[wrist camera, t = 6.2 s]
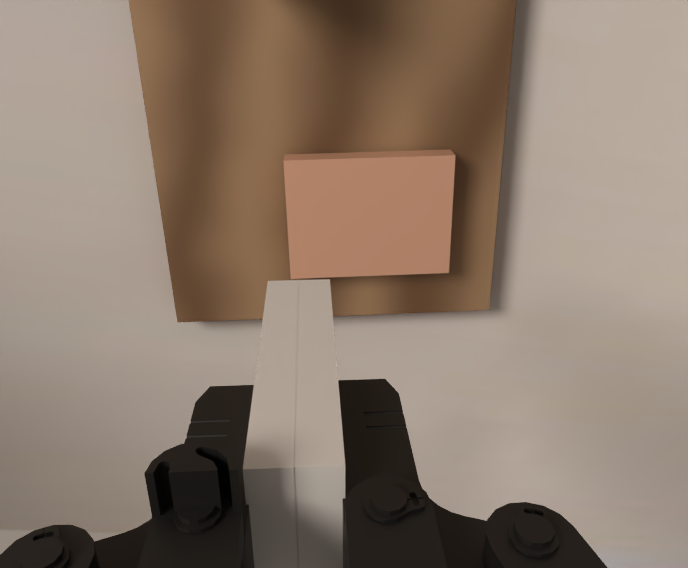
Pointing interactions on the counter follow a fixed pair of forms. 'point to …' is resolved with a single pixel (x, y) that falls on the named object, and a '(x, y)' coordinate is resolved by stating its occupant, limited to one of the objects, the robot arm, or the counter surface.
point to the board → (317, 133)
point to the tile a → (369, 213)
